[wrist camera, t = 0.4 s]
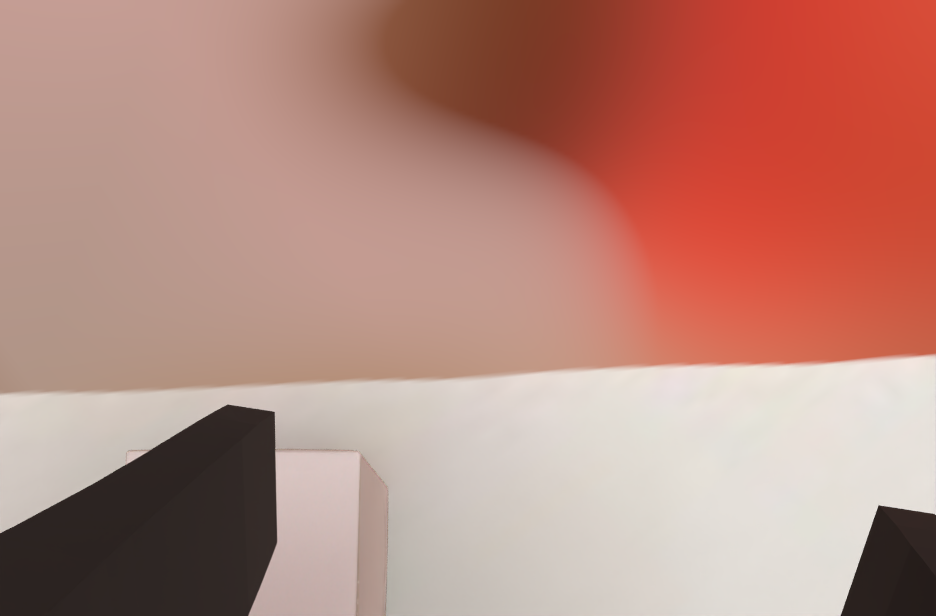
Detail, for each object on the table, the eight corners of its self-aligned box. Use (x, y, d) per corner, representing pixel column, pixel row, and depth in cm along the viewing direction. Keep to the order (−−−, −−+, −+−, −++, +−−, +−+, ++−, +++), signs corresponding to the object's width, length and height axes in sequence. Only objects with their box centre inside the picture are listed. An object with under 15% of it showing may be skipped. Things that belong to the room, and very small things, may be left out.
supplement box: (391, 482, 39) (371, 447, 27) (385, 664, 37) (360, 715, 25) (220, 480, 39) (122, 443, 27) (205, 663, 37) (91, 713, 25)
